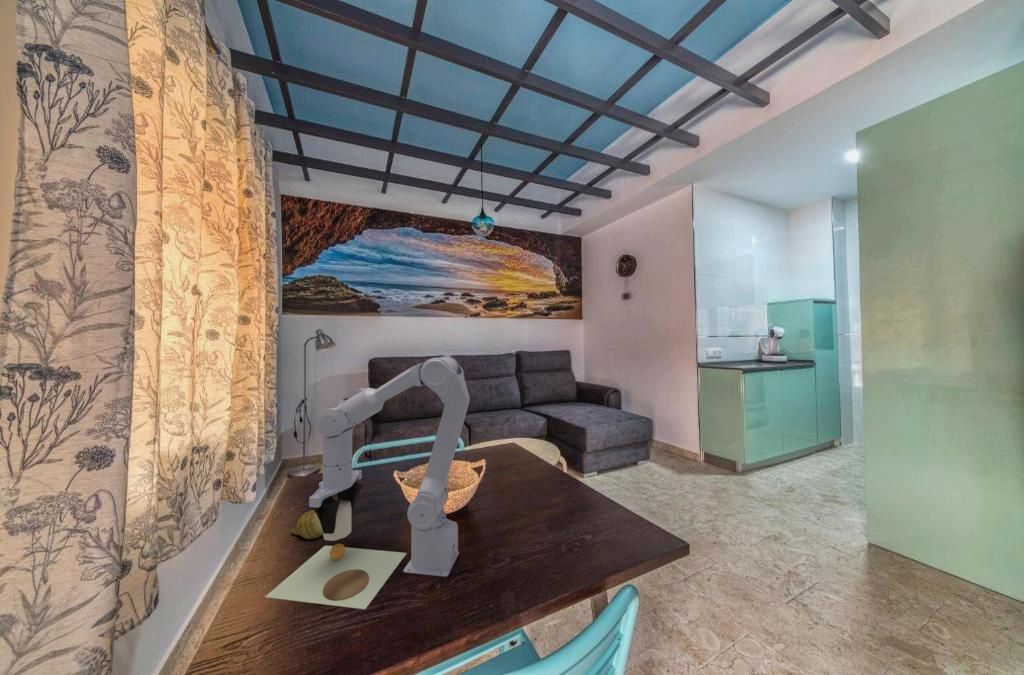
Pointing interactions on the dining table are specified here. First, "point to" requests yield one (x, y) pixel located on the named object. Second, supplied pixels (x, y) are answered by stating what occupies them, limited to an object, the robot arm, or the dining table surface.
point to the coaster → (345, 585)
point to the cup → (341, 522)
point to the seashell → (308, 526)
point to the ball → (337, 551)
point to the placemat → (322, 568)
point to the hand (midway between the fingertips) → (337, 525)
